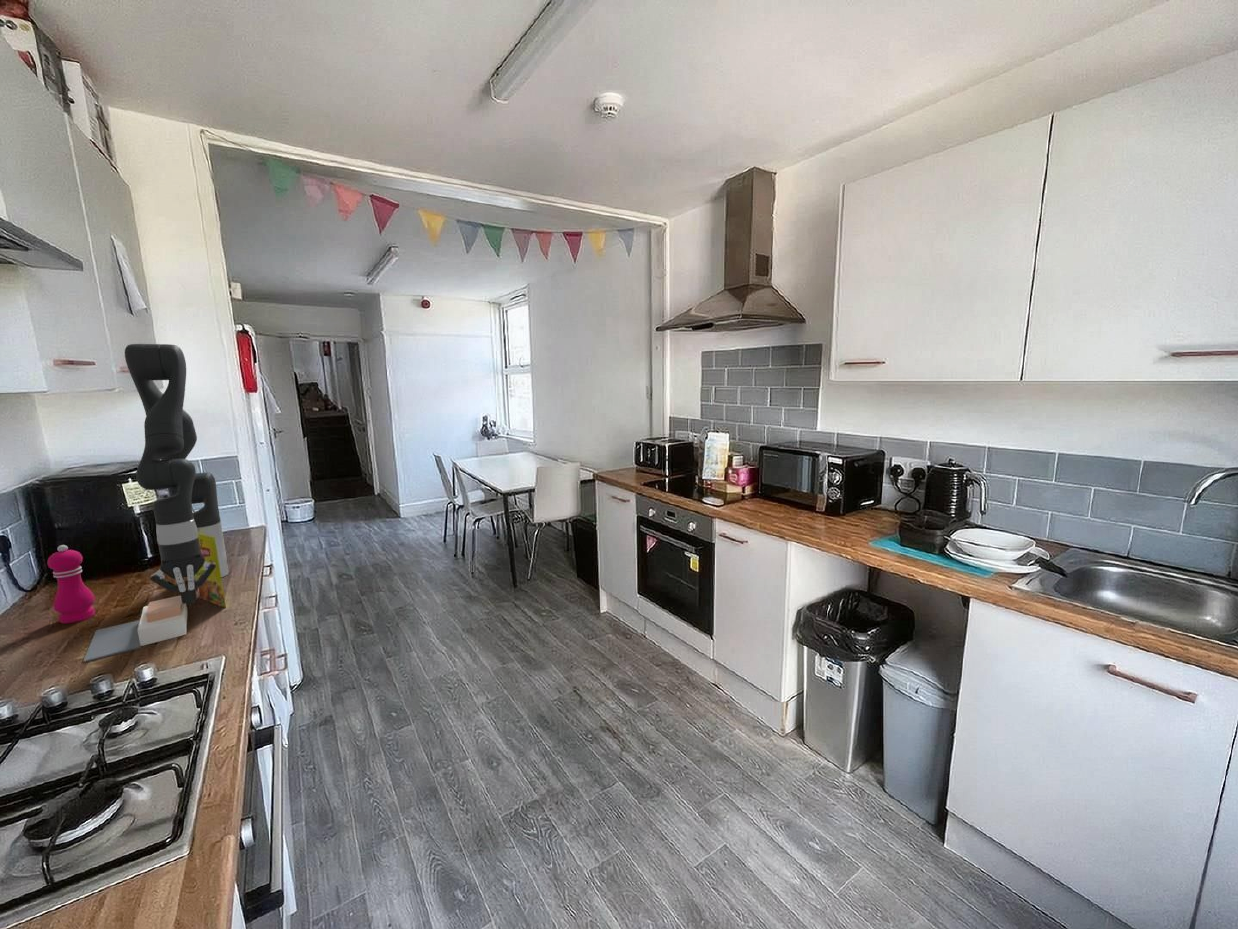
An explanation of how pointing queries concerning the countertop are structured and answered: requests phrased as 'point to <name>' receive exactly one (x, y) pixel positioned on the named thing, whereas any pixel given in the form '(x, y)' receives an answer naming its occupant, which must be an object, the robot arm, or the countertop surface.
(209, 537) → the food package
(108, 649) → the rubber mat
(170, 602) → the terracotta tile
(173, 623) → the white box
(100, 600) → the countertop surface
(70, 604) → the pepper mill
